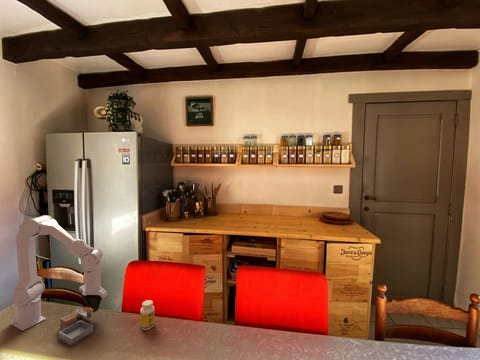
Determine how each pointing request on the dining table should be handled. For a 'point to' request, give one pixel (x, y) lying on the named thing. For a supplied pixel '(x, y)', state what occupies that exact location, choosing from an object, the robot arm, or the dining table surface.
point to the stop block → (67, 321)
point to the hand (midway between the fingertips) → (93, 310)
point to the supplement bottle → (147, 315)
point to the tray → (75, 332)
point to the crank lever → (81, 313)
